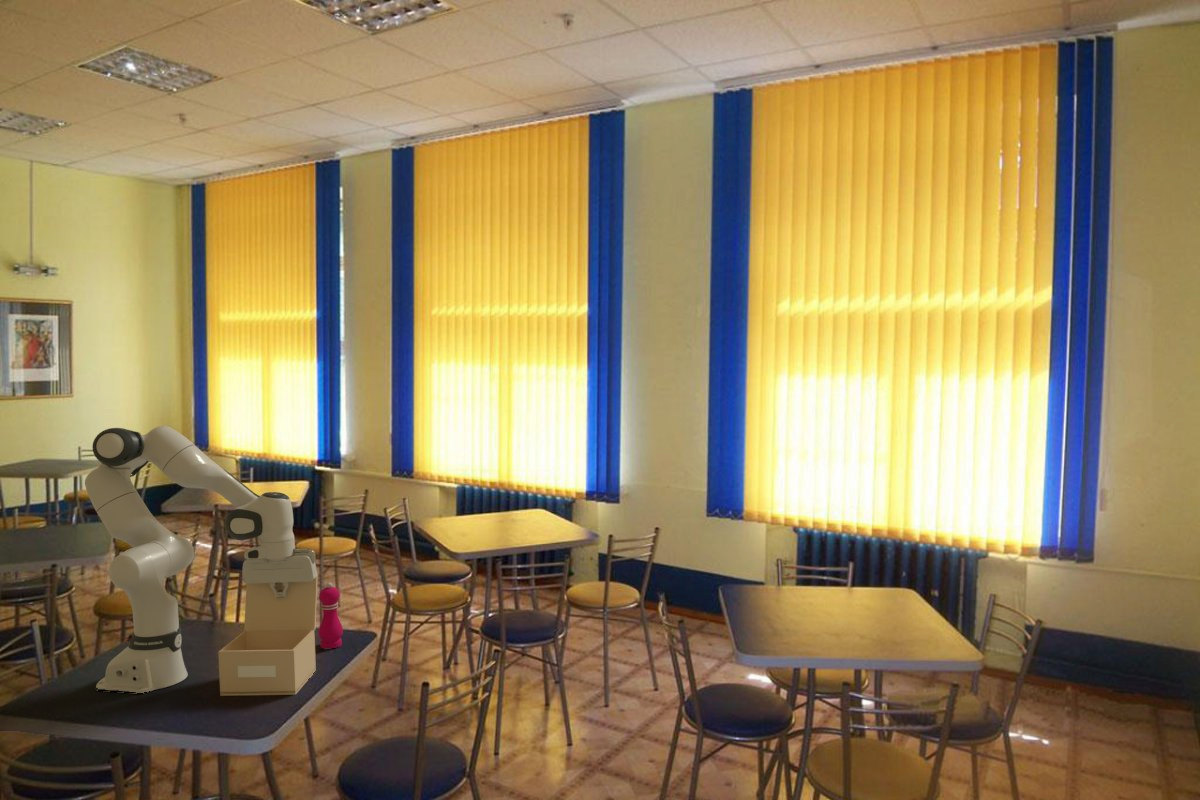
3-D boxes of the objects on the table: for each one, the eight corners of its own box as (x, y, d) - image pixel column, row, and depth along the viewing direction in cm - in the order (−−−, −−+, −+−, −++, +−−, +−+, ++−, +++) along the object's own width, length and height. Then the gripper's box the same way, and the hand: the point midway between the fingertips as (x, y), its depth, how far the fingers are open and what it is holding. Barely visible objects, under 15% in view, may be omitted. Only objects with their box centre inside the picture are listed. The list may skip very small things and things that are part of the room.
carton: (219, 696, 222) (218, 651, 221) (245, 672, 238) (243, 630, 237) (295, 694, 222) (293, 650, 221) (315, 671, 238) (314, 629, 237)
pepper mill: (336, 651, 254) (333, 586, 252) (314, 649, 255) (311, 585, 254) (347, 642, 261) (345, 579, 259) (326, 641, 262) (324, 578, 261)
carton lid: (247, 573, 240) (248, 573, 241) (244, 630, 237) (245, 630, 238) (316, 572, 240) (317, 572, 241) (314, 629, 237) (315, 629, 238)
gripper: (318, 545, 240) (321, 592, 241) (247, 547, 240) (250, 595, 241) (311, 550, 234) (313, 599, 235) (238, 553, 234) (241, 601, 235)
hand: (281, 597), depth 238 cm, fingers closed, pressing on carton lid
